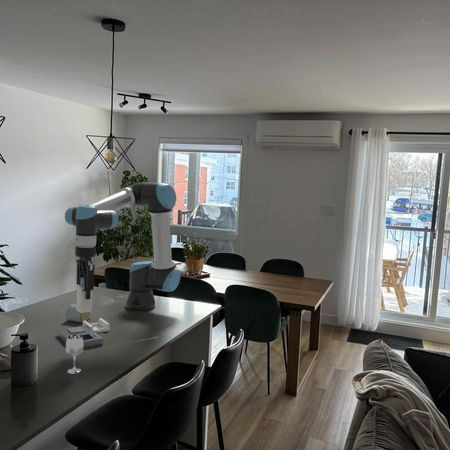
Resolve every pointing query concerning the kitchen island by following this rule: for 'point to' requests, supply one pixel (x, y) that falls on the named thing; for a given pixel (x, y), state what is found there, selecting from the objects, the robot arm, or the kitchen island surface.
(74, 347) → the wineglass
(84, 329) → the port panel
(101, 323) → the holster
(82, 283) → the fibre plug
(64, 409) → the kitchen island surface
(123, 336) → the kitchen island surface
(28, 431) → the kitchen island surface
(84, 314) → the ceramic mug
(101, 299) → the kitchen island surface
